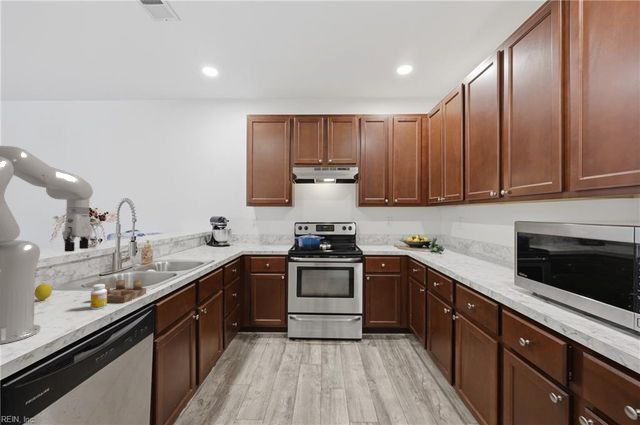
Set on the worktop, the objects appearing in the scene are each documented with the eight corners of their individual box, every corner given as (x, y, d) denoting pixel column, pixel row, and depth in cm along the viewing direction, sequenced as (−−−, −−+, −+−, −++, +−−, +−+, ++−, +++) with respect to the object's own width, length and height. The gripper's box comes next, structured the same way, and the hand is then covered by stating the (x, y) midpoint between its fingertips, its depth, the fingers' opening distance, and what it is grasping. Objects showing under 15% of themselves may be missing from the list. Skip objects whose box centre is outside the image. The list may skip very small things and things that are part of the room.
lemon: (40, 303, 117) (40, 285, 117) (30, 301, 118) (31, 284, 118) (54, 299, 123) (55, 282, 123) (45, 298, 124) (46, 281, 124)
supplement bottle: (87, 308, 112) (88, 285, 112) (103, 304, 117) (103, 282, 117) (93, 310, 109) (94, 287, 109) (109, 306, 114) (109, 284, 114)
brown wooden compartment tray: (124, 303, 119) (124, 287, 119) (94, 302, 119) (95, 286, 119) (146, 293, 133) (146, 280, 133) (119, 292, 133) (119, 279, 133)
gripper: (75, 211, 110) (74, 252, 109) (98, 212, 126) (97, 247, 126) (53, 211, 108) (52, 252, 107) (80, 211, 124) (79, 247, 124)
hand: (76, 249), depth 117 cm, fingers open, 9 cm apart
